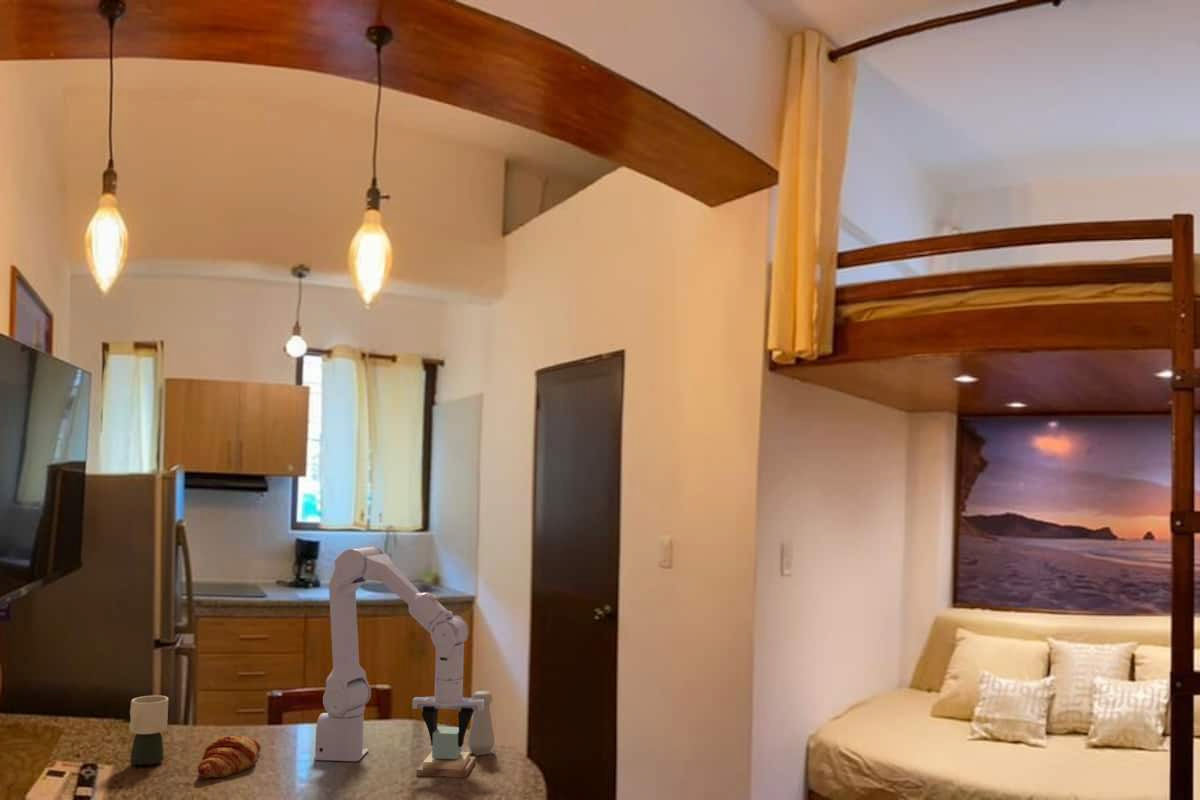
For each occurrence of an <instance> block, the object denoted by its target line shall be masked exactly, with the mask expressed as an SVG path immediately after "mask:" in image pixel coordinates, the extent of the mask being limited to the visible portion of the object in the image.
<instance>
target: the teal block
mask: <svg viewBox="0 0 1200 800" xmlns="http://www.w3.org/2000/svg"><path fill="white" fill-rule="evenodd" d="M458 735H459V726H458V727H457V726H437V729H436V730H435V731H434V732H433V744H432V746H431V747H432V748H431V749H432V750H431V751H432V758H438V759H457V758H458V756H459V755H460V753H461V752H462V747H458Z"/></svg>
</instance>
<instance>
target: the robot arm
mask: <svg viewBox="0 0 1200 800" xmlns="http://www.w3.org/2000/svg"><path fill="white" fill-rule="evenodd" d="M332 572H333V573H332V575H331V578H330V580H329V584H328V590H329V591H328V593H329V594H328V596H329V612H330V613H329V614H330V615H329V616H330V631H331V633H330V634H331V651H332V670H331V671H330V673H329V674H328V676H327V677H326V680H325V690H324V692H323V696H322V704H323V707H324V709H325V711H326V712H322V713H320V715H319V716H318V718H317V721H316V727H315V746H314V747H315V749H314V750H315V753H314V757H313V760H315V761H335V762H359V761H360V760H362V758H363V757H364V756H365V755H367V753H368V752H369V750H370V749H368V748H364V727H365V726H364V723H365V722H364V719H365V718H364V717H365V710H366V705H367V704H368V703H369V701H370V699H371V696H372V689H371V686H370V684H369V682H368V680H367V673H366V672H367V671H365V669H364V668H363V667H362V666H361V665H360V653H359V652H360V651H359V650H360V649H359V632H358V631H359V630H358V619H357V618H358V614H357V613H358V612H357V597H356V596H357V595H356V593H357V591H358V590H359V589H360V587H362V585H363V584H364V583H366V581H377V582H381V583H382V584H384V585H385V586H386V587H387V588H388V589H389V590H390V591H392V592H393V593H394V594H396V595H397V596H398V597H399V598H400V599H401V600H402V601H404V602H405V603H406V604H407V605H408V613H409V614H410V616H412V617H413V619H414V620H416V621H417V622H418V623H419V624H420V625H421V626H422V627H423V628H424V629H425V630H426V631H427V632H428V633H429V634H430V639H431V642H432V644H433V646H435V647H434V648H435V669H434V670H435V672H434V676H435V677H434V696H422V697H421V696H416V697H414V698H412V703H411V705H412V708H411V709H413V710H414V709H415V710H416V709H417V710H418V709H422V712H421V716H422V719H423V721H424V722H425V725H426V728H427V730H428V734H429V738H430V744H431V747H432V744H433V732H434V731H435V730H436V729H437V727H438V716H439V709H440V710H460V711H459V712H458V714H457V717H458V727H459V735H458V747H462V746H463V745H464V741H465V735H466V732H467V729H468V726H469V723H470V720H472V717H473V712H474V710H477V711H483V709H484V699H473V698H471V697H466V696H465V697H464V696H463V692H464V690H463V689H464V661H465V660H464V657H465V655H464V654H465V653H464V650H465V643H464V642H466V641H467V639H468V637H469V633H470V629H469V628H470V627H469V625H468V623H467V622H466V620H465V619H464V617H463V616H459V615H454V613H453V612H452V610H448V609H447V608H446V607H444V605H442V604H441V603H440V602H439V600H438V596H437V595H436V594H434V593H433V594H430V593H429V592H420V590H419V589H418V588H417V587H416V586H415V585H413V583H412V582H411V581H410V580H409V579H408V578H407V577H406V576H405V575H404V574H403V572H402V571H400V569H399V568H398V567H397V566H396V565H395V564H394V563H393V560H391V557H390V556H389V555H387V554H386V553H384V552H383V550H382V549H381V548H380V547H378V546H376V545H375V546H374V545H370V546H367V547H360V548H348V549H345V550H344V551H342V552H341V553H340V554H339V555H338V557H336V558H335V559H334V570H333V571H332Z"/></svg>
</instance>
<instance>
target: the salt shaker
mask: <svg viewBox="0 0 1200 800" xmlns="http://www.w3.org/2000/svg"><path fill="white" fill-rule="evenodd" d="M472 698H473V699H484V709H483V711H477V710H474V712H473V714H472V717H471V723H470V727H469V732H468V739H467V746H468V748H469V750H470V751H469V752H470V753H471V752H472V753H473V754H476V755H475V756H478V755H484V756H486V755H485V754H489V755H490V754H491V752H492V750H493V748H494V746H495V743H496V741H495V735H494V729H493V728H494V727H493V722H492V715H491V706H490V704H491V703H492V702H493V693H492V692H491V691H487V690H478V691H475V692H474V693H473V694H472ZM472 753H471V754H472ZM473 754H472V755H473ZM477 754H478V755H477Z"/></svg>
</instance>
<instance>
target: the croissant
mask: <svg viewBox="0 0 1200 800" xmlns="http://www.w3.org/2000/svg"><path fill="white" fill-rule="evenodd" d="M261 749H262V743H261V741H260V740H256V739H254V738H251V737H245V736H243V735H239V736H237V735H236V736H234V735H226V736H221V737H219V738H216V739H214V740H213V741H212V742H211V743H210V744H208V745H207V746H206V748H205V751H204V752H203V756H202V757H201V762H199V765H198V766H197V771H198V774H199V775H200V776H201V777H202V778H206V779H207V778H223V777H224V776H225V777H228V776H230V774H231V775H234V774H233V773H235V774H238V772H239V773H240V772H243V771H244V770H246V769H249V768H250V767H252V766H253V765H255V763H256V762H257V760H258V758H259V754H260V752H261ZM225 777H224V778H225Z"/></svg>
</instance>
